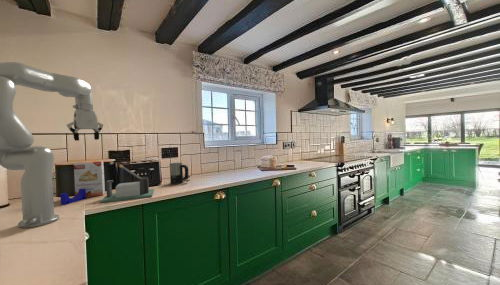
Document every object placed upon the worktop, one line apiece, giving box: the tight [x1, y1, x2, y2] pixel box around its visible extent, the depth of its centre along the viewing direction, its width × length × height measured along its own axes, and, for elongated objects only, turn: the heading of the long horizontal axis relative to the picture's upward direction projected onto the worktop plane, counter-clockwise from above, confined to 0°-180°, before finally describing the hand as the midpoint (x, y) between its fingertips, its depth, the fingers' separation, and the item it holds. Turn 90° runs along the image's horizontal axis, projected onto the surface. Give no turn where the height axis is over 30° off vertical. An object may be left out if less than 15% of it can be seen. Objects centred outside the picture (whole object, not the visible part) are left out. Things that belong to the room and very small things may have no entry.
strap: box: [118, 164, 142, 180], centre depth 133 cm, size 16×3×1 cm
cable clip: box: [59, 189, 87, 206], centre depth 126 cm, size 12×4×6 cm, turn 169°
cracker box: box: [73, 160, 106, 198], centre depth 137 cm, size 14×6×21 cm, turn 112°
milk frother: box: [169, 162, 191, 185], centre depth 172 cm, size 14×16×15 cm
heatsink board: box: [100, 176, 154, 204], centre depth 133 cm, size 18×25×10 cm
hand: (87, 140), depth 123 cm, fingers open, 9 cm apart
